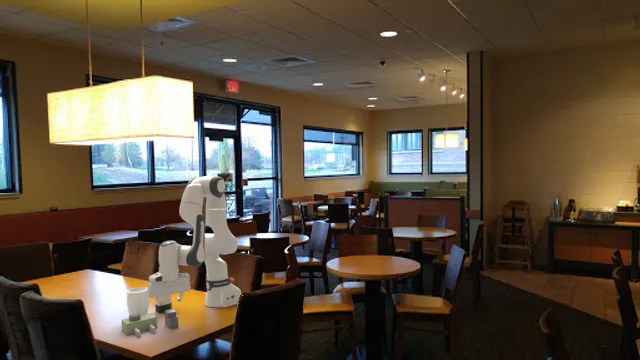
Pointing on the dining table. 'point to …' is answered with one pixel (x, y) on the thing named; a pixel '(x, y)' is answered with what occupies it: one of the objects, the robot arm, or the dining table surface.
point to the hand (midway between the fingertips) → (169, 303)
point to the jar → (138, 300)
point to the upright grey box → (171, 318)
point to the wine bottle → (163, 301)
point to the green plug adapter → (139, 323)
